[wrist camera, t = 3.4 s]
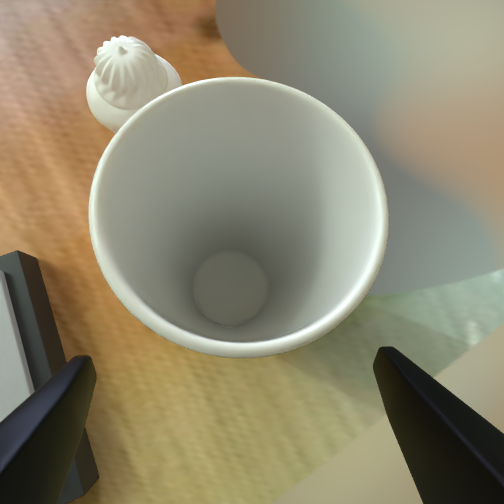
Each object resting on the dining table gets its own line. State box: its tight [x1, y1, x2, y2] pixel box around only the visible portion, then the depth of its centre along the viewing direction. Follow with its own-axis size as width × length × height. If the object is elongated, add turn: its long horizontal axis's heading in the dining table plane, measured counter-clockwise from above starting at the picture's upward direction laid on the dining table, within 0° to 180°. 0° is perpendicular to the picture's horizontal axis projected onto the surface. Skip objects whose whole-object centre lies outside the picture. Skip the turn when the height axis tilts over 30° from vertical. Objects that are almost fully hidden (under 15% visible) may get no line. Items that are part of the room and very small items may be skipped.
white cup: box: [89, 77, 389, 359], centre depth 14 cm, size 7×7×15 cm
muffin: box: [86, 35, 182, 134], centre depth 20 cm, size 6×6×7 cm
